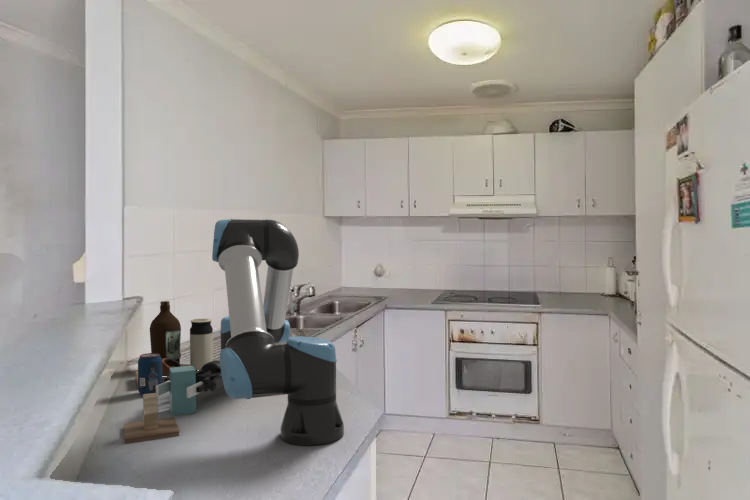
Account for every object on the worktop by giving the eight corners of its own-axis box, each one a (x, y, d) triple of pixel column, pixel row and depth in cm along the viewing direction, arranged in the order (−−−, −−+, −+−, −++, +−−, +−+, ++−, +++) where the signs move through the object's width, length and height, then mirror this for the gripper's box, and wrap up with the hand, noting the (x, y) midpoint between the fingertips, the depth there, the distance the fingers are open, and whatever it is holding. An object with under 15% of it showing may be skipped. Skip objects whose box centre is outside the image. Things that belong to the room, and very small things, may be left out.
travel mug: (204, 372, 199) (203, 321, 199) (185, 370, 202) (185, 320, 201) (217, 367, 206) (216, 318, 206) (199, 365, 209) (199, 317, 209)
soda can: (149, 389, 176) (149, 351, 176) (167, 391, 174) (166, 353, 173) (133, 395, 170) (132, 356, 169) (151, 397, 167) (150, 357, 167)
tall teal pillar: (196, 412, 152) (195, 370, 152) (172, 415, 150) (171, 372, 149) (193, 406, 158) (192, 365, 158) (170, 409, 155) (169, 367, 155)
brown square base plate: (179, 435, 134) (178, 398, 134) (124, 443, 129) (124, 405, 129) (174, 420, 145) (173, 386, 145) (123, 427, 140) (123, 392, 140)
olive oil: (143, 371, 200) (142, 302, 200) (166, 365, 210) (165, 299, 209) (165, 374, 196) (164, 303, 195) (187, 368, 205) (186, 300, 205)
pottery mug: (164, 376, 195) (175, 356, 194) (178, 392, 190) (189, 372, 189) (134, 375, 185) (146, 353, 184) (148, 391, 180) (160, 370, 179)
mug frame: (193, 383, 183) (193, 374, 183) (137, 389, 176) (137, 380, 176) (188, 373, 197) (187, 365, 197) (135, 379, 190) (135, 370, 189)
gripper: (249, 386, 168) (208, 408, 146) (186, 382, 174) (138, 403, 152) (248, 361, 168) (207, 380, 146) (186, 358, 174) (137, 375, 152)
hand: (172, 391), depth 149 cm, fingers closed on tall teal pillar, 9 cm apart
